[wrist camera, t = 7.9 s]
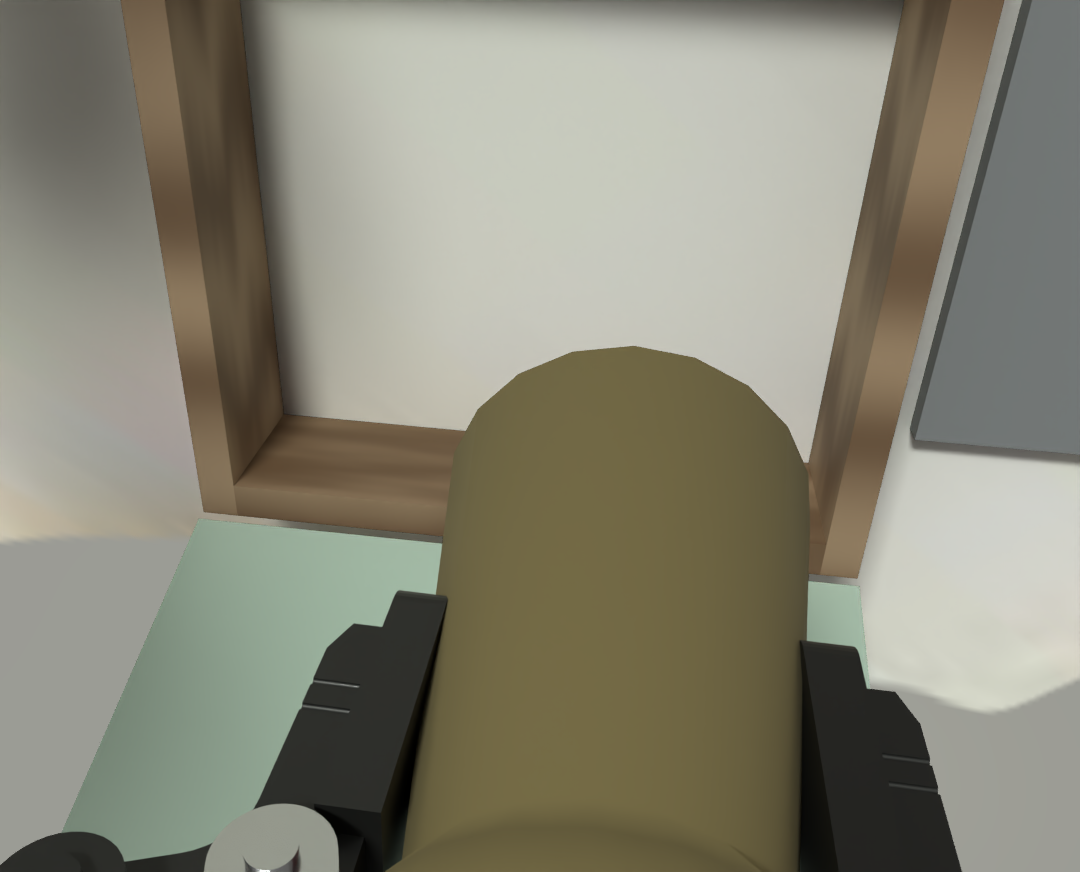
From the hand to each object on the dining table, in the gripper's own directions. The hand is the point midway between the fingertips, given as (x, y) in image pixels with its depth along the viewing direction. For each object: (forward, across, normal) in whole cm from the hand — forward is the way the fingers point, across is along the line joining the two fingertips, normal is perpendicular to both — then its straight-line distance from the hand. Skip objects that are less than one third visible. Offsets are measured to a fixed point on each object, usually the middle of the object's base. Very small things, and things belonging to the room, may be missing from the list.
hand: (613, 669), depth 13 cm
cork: (+4, 0, 0) cm, 4 cm away
